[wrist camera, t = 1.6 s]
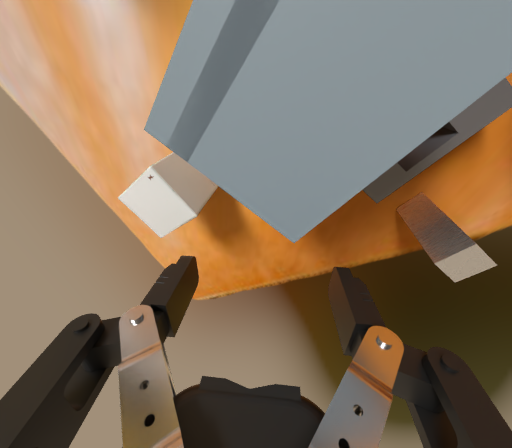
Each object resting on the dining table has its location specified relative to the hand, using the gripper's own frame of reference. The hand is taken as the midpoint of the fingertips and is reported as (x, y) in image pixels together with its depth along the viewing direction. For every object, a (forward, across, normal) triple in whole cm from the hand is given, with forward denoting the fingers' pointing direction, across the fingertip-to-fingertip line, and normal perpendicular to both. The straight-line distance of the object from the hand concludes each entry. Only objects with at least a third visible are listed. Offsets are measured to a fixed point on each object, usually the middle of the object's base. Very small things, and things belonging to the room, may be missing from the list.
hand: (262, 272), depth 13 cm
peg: (+22, -22, +5) cm, 32 cm away
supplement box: (+25, +12, +1) cm, 28 cm away
